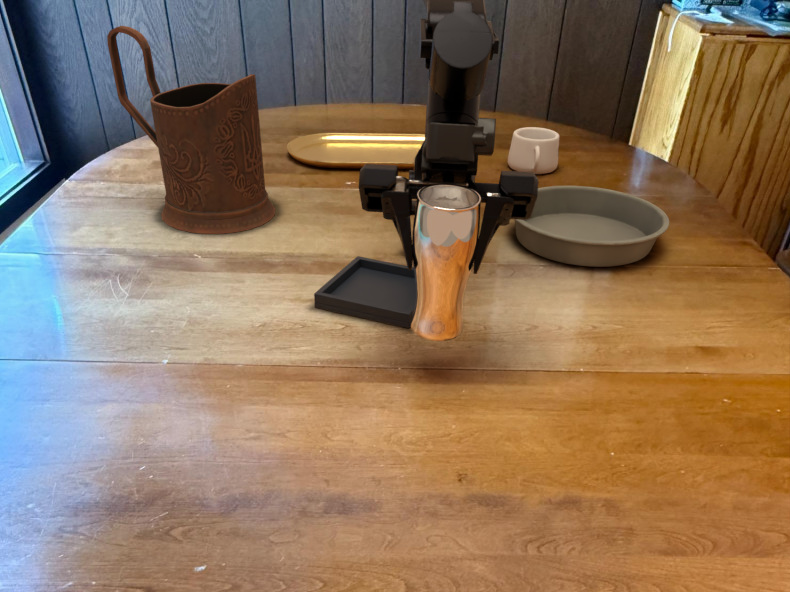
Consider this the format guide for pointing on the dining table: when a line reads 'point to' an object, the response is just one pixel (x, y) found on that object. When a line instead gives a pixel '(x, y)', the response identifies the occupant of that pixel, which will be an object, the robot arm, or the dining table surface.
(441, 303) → the beer glass
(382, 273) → the serving tray
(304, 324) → the dining table surface
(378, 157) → the serving platter
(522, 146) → the mug
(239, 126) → the cup holder
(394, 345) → the dining table surface
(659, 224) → the cake pan
